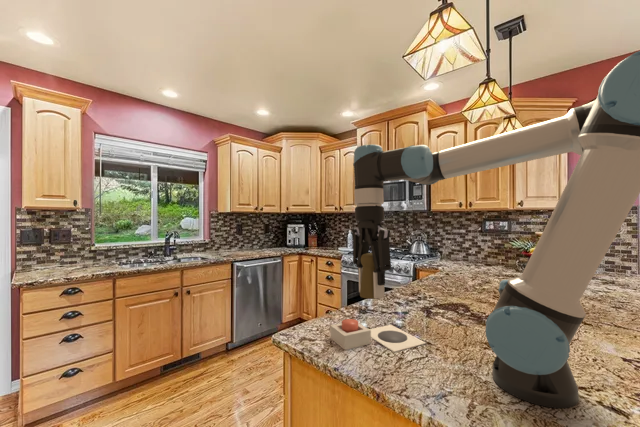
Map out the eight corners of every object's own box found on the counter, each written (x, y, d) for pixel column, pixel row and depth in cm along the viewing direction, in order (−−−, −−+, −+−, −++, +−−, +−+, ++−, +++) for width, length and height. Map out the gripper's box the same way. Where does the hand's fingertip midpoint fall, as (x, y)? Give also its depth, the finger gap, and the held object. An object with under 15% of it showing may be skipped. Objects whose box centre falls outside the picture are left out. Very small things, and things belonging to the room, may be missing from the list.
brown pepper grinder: (383, 299, 70) (382, 254, 70) (359, 298, 71) (358, 254, 71) (383, 293, 76) (382, 251, 76) (360, 292, 77) (359, 251, 77)
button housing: (370, 343, 85) (370, 330, 85) (344, 350, 81) (344, 335, 81) (354, 332, 93) (354, 320, 93) (330, 338, 89) (330, 325, 89)
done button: (361, 333, 86) (361, 323, 86) (347, 336, 84) (347, 326, 84) (352, 327, 90) (352, 317, 90) (339, 330, 88) (338, 320, 88)
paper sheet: (426, 343, 84) (426, 342, 84) (394, 352, 79) (394, 351, 79) (391, 325, 99) (391, 324, 99) (362, 331, 94) (362, 330, 94)
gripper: (405, 203, 67) (408, 301, 67) (361, 207, 84) (362, 285, 84) (379, 203, 64) (382, 306, 63) (339, 207, 81) (340, 288, 81)
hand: (371, 294), depth 74 cm, fingers closed on brown pepper grinder, 6 cm apart
